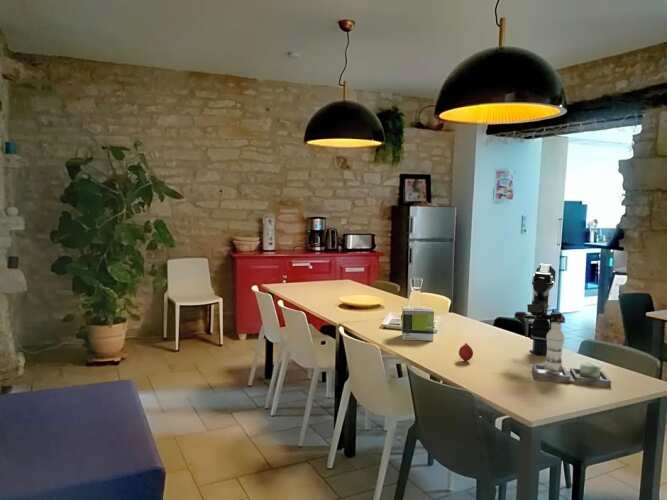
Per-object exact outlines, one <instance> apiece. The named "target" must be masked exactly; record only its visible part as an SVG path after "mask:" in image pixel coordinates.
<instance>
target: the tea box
mask: <svg viewBox="0 0 667 500" xmlns="http://www.w3.org/2000/svg"><path fill="white" fill-rule="evenodd" d="M401 312H402V313H401V338H402V340H403V341H404V340H406V341H427V342H429V341H431V342H433V341H434V328H435V327H434V322H435V320H434V319H435V311H434V310H433V307H417V306H414V307H413V306H410V307H409V306H403V307H402V309H401Z"/></svg>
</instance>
